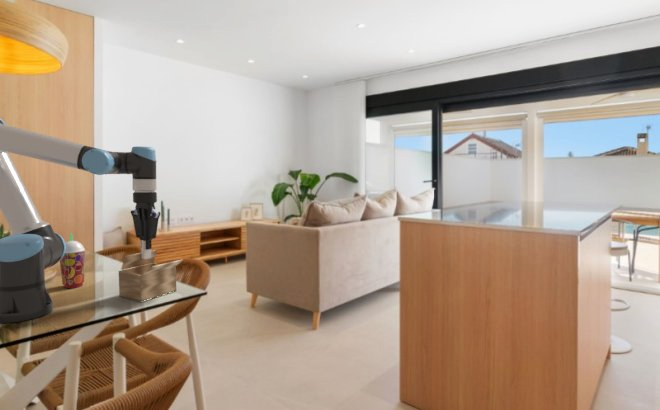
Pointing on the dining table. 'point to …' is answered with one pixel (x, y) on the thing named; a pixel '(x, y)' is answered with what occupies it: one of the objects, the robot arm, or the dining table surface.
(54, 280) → the dining table surface
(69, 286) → the smoothie
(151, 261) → the far flap
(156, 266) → the near flap
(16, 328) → the dining table surface
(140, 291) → the carton
